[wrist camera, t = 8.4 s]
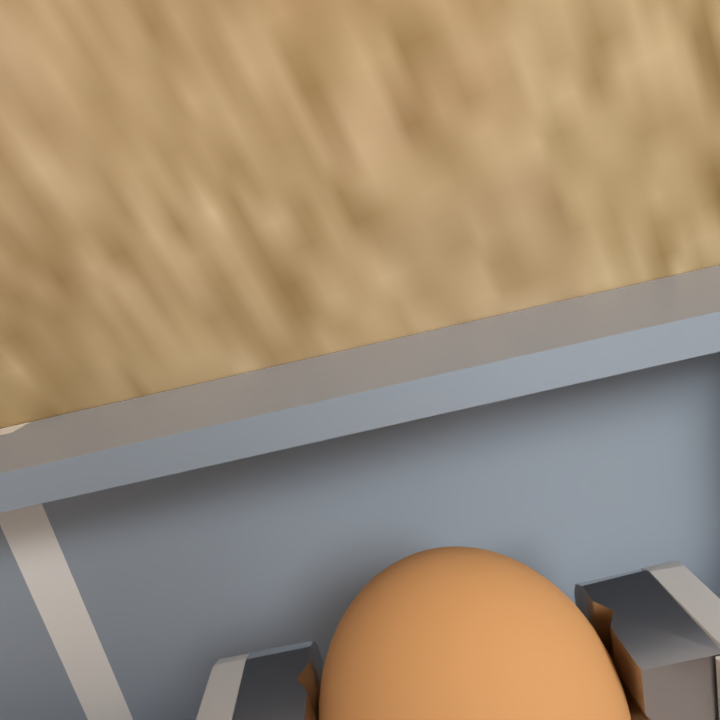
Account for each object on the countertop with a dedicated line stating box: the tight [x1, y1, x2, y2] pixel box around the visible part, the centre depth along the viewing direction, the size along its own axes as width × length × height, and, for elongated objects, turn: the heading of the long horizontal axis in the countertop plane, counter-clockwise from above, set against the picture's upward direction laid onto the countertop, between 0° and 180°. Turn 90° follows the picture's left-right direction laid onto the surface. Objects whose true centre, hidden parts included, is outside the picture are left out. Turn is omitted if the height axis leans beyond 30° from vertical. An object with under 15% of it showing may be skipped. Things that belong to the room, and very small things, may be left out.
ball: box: [319, 546, 631, 720], centre depth 7 cm, size 4×4×4 cm
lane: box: [0, 265, 720, 720], centre depth 9 cm, size 8×22×4 cm, turn 103°
